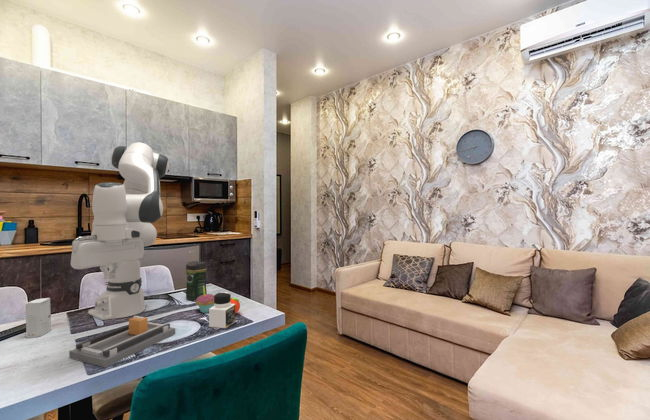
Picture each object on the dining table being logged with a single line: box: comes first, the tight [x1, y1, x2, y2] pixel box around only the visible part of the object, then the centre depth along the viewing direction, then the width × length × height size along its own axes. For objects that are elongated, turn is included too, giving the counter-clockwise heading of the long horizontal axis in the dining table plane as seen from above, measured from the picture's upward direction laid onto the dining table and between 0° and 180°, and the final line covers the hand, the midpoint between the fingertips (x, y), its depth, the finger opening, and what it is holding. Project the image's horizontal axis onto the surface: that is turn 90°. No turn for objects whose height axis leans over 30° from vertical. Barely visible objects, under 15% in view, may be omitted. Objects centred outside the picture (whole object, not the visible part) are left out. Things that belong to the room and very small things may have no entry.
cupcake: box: [195, 285, 215, 314], centre depth 130 cm, size 9×8×12 cm
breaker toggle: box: [128, 315, 149, 335], centre depth 102 cm, size 5×3×6 cm, turn 69°
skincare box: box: [25, 297, 52, 339], centre depth 107 cm, size 6×4×12 cm
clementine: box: [230, 297, 243, 315], centre depth 126 cm, size 8×7×7 cm
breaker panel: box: [68, 321, 176, 368], centre depth 98 cm, size 16×24×4 cm, turn 159°
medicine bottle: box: [208, 291, 236, 329], centre depth 115 cm, size 7×7×12 cm
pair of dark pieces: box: [75, 323, 171, 356], centre depth 98 cm, size 13×22×1 cm, turn 159°
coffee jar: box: [185, 260, 208, 302], centre depth 148 cm, size 10×8×19 cm
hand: (110, 278), depth 93 cm, fingers closed
